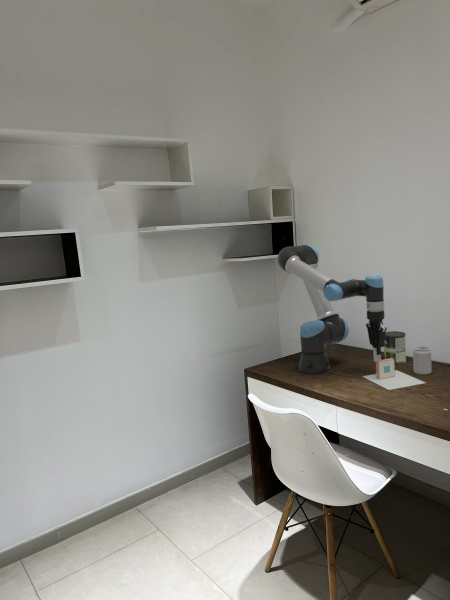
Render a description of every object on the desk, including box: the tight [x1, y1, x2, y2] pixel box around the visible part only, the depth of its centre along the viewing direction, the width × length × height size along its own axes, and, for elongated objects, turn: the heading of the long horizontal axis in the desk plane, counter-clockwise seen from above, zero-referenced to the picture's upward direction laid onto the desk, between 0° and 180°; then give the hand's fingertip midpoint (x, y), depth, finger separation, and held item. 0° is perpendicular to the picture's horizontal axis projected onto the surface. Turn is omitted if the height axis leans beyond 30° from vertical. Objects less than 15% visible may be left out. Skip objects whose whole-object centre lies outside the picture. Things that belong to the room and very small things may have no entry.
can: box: [412, 345, 433, 375], centre depth 207 cm, size 8×8×12 cm
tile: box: [375, 358, 396, 379], centre depth 204 cm, size 2×8×8 cm, turn 105°
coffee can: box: [383, 330, 407, 364], centre depth 227 cm, size 10×10×14 cm
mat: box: [362, 369, 426, 391], centre depth 201 cm, size 20×18×1 cm
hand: (377, 361), depth 209 cm, fingers closed
